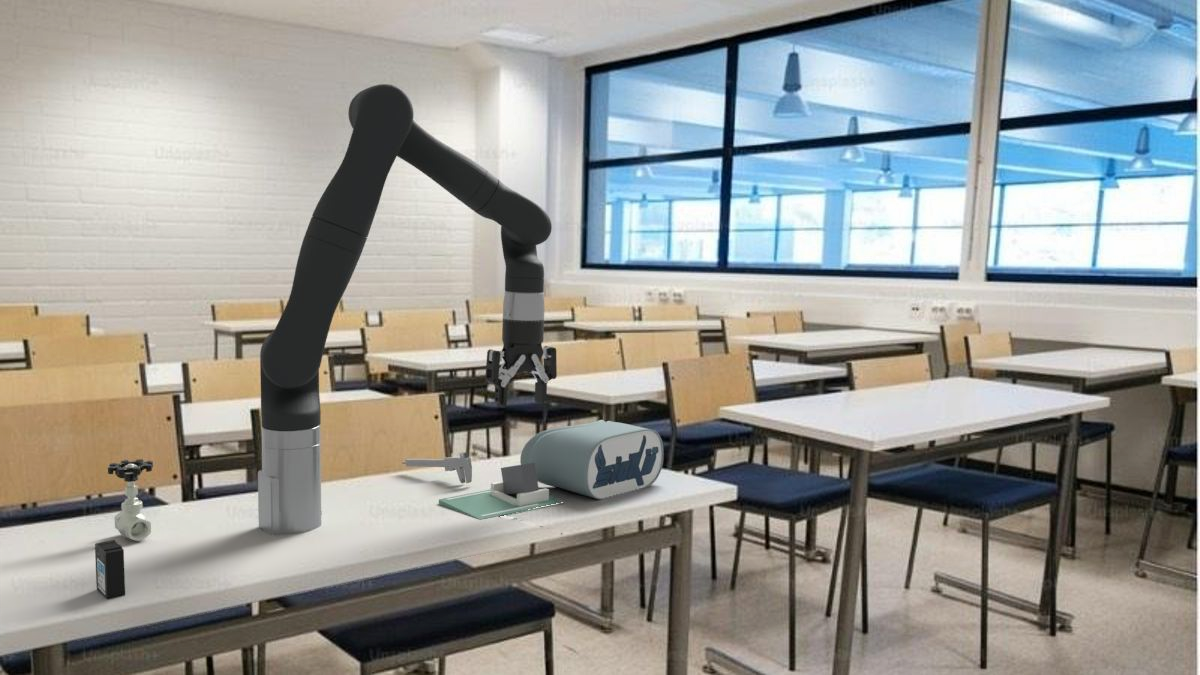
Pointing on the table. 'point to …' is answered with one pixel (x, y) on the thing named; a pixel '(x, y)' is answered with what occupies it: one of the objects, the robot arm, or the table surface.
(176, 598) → the table surface
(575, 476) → the pencil case
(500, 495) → the board
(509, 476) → the switch
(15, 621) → the table surface
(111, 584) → the ink cartridge
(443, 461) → the caliper
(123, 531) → the valve
